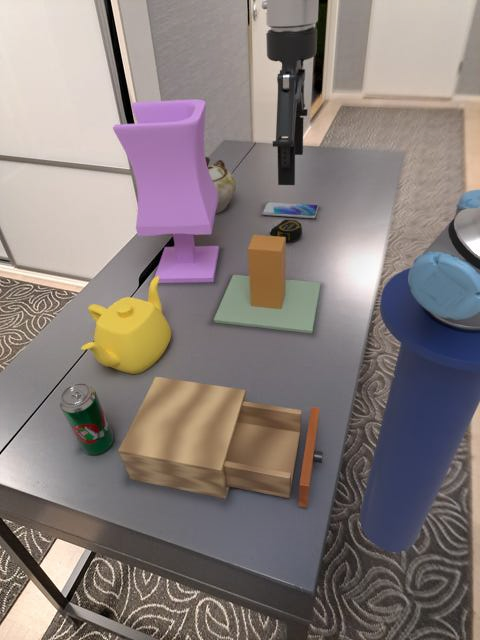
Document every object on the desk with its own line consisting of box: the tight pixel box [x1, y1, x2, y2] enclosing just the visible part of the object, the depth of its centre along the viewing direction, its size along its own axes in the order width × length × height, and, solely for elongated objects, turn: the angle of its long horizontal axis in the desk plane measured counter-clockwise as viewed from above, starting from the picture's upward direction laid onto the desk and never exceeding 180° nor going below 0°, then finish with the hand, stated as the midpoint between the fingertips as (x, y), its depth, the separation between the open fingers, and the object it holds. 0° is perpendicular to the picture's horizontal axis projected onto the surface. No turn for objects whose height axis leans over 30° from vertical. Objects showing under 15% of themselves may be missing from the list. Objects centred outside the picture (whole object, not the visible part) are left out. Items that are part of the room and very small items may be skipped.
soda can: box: [59, 382, 115, 456], centre depth 66 cm, size 5×5×12 cm
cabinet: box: [117, 376, 247, 500], centre depth 66 cm, size 15×14×8 cm
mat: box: [213, 274, 322, 334], centre depth 94 cm, size 20×16×1 cm
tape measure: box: [269, 219, 303, 243], centre depth 112 cm, size 7×7×4 cm
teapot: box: [80, 276, 172, 375], centre depth 83 cm, size 22×16×11 cm
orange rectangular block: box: [247, 234, 287, 309], centre depth 89 cm, size 6×5×14 cm
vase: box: [112, 98, 220, 284], centre depth 95 cm, size 16×16×35 cm
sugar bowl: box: [205, 156, 237, 214], centre depth 124 cm, size 20×15×15 cm
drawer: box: [223, 401, 324, 509], centre depth 63 cm, size 15×12×6 cm
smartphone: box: [261, 201, 319, 219], centre depth 124 cm, size 7×1×15 cm
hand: (291, 168), depth 79 cm, fingers open, 13 cm apart
